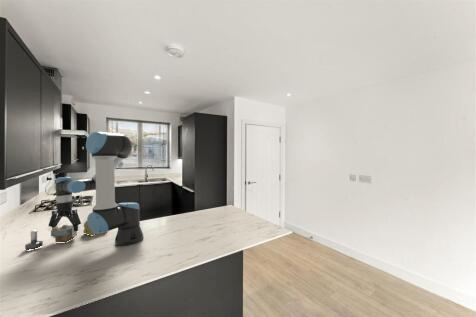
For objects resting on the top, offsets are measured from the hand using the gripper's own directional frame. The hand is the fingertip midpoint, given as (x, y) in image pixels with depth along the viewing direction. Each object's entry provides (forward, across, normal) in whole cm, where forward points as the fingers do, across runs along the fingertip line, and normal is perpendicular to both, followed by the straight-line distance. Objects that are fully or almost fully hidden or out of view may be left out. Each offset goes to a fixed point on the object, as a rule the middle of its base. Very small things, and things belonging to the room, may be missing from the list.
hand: (65, 236), depth 121 cm
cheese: (+3, -10, -13) cm, 17 cm away
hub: (+3, +10, +9) cm, 14 cm away
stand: (+3, 0, 0) cm, 3 cm away
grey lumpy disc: (-2, 0, 0) cm, 2 cm away
